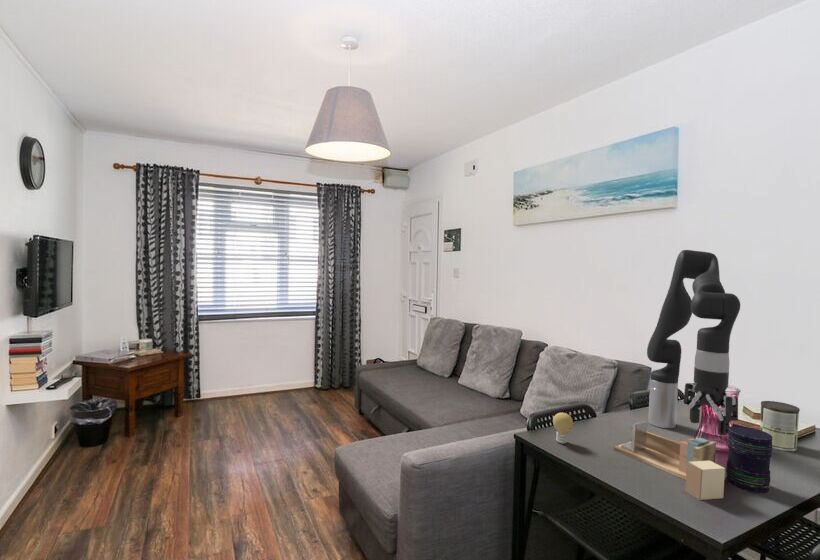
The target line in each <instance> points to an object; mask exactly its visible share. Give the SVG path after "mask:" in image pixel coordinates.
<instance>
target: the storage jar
mask: <svg viewBox="0 0 820 560" xmlns="http://www.w3.org/2000/svg"><path fill="white" fill-rule="evenodd" d="M772 438H773V437H772V436H771V435H770V434H768V433H766V432H764V431H761V430H760V429H757V428H754V427H749V426H741V425H732V426H729V433H728V434H727V444H726V445H727V448H728V452H727V453H728V454H727V460H726V466H725V481H726V483H728V484H729V485H730V486H732V487H734V488H736V489H738V490H740V491H741V490H742V491H745V492H747V493H752V494H759V495H763V494H764V495H765V494H768V493H769V492H770V484H771V478H772V477H771V470H770V468H771V467H770V464H771V458H772V455H773V448H772Z"/></svg>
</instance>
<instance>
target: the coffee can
mask: <svg viewBox="0 0 820 560" xmlns="http://www.w3.org/2000/svg"><path fill="white" fill-rule="evenodd" d="M800 411H801V409H800V407H798V406H796V405H793V404H789V403H785V402H782V401H781V402H780V401H775V400H763V401H762V400H761V401H760V418H759V419H760V421H759V430H761V431H764V432H766V433H768V434H770V435H771V436H772V437H773V438H772V449H774V450H778V451H783V452H785V451H786V452H795V451H798V434H799V418H800Z"/></svg>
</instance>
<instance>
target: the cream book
mask: <svg viewBox="0 0 820 560" xmlns="http://www.w3.org/2000/svg"><path fill="white" fill-rule="evenodd" d="M725 477H726V467H723V466H722V465H720V464H717V463H716V462H715V463H714V462H712V461H693V462H687V471H686V480H685V489H684V490H685V492H686V493H688V494H689V495H691V496H693V497H694V498H695V499H697V500H699V501H702V500H703V501H705V500H713V499H715V500H716V499H724V492H725Z"/></svg>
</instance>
